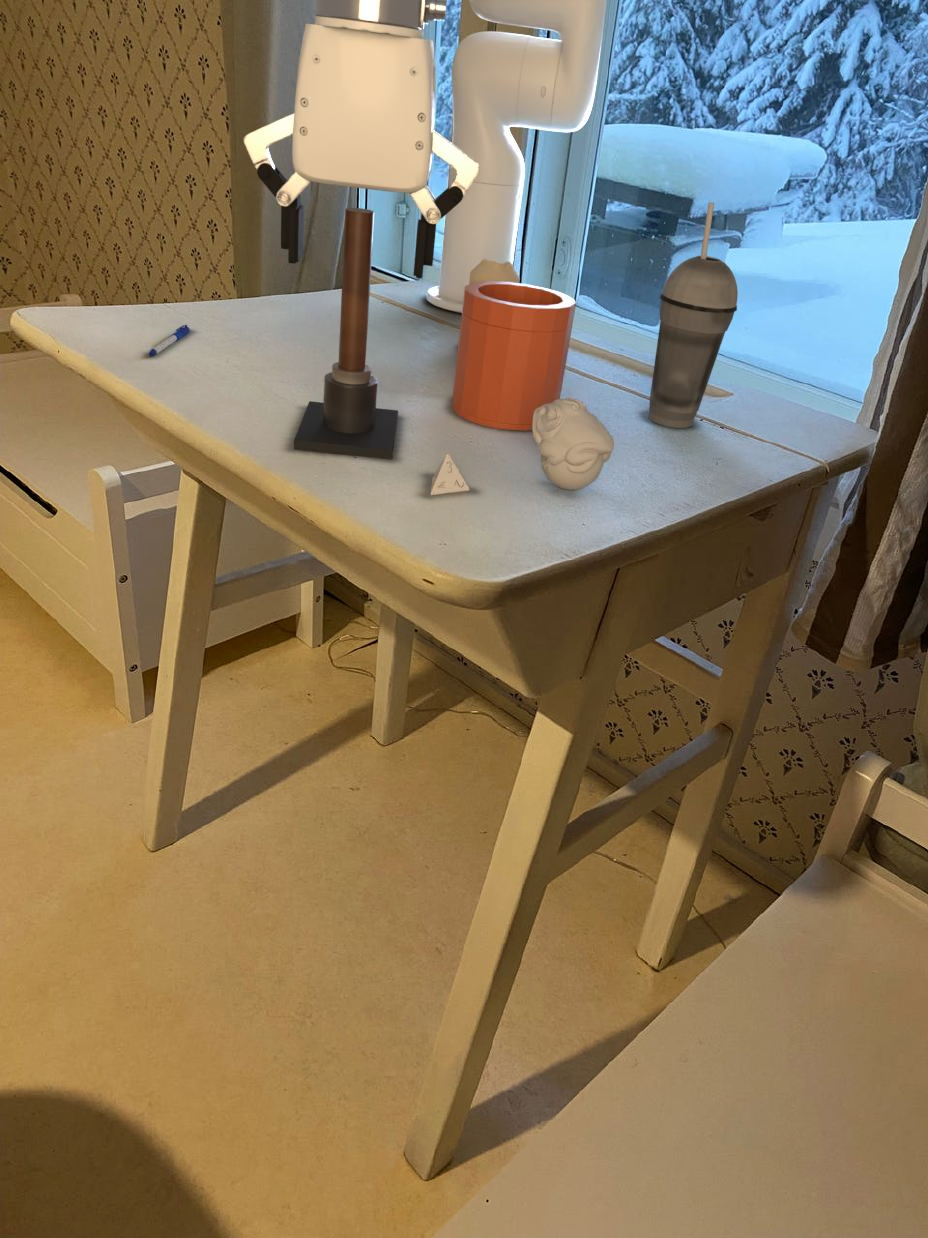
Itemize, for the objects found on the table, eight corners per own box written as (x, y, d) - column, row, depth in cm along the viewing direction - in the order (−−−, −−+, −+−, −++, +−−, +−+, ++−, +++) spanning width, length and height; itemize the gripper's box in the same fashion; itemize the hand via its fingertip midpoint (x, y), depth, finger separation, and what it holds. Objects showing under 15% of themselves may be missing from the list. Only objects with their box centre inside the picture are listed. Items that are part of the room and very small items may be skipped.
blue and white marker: (182, 331, 101) (182, 322, 100) (190, 332, 101) (190, 323, 100) (147, 357, 92) (147, 347, 91) (156, 358, 92) (156, 348, 91)
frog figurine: (546, 463, 79) (559, 383, 75) (619, 489, 76) (637, 406, 72) (507, 482, 74) (520, 397, 71) (583, 510, 71) (600, 423, 68)
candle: (510, 348, 110) (522, 259, 104) (507, 361, 105) (520, 268, 100) (464, 342, 110) (474, 252, 105) (459, 354, 105) (469, 261, 100)
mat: (309, 409, 84) (309, 400, 83) (397, 418, 84) (398, 410, 84) (293, 449, 75) (293, 440, 75) (392, 459, 76) (393, 450, 75)
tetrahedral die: (413, 498, 72) (409, 467, 70) (433, 477, 74) (429, 446, 71) (451, 511, 71) (448, 480, 68) (470, 490, 72) (468, 459, 70)
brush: (325, 413, 81) (333, 202, 72) (376, 418, 81) (390, 209, 73) (319, 430, 77) (327, 210, 69) (372, 436, 78) (387, 217, 69)
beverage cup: (669, 436, 89) (723, 210, 79) (619, 410, 94) (663, 195, 84) (721, 428, 93) (779, 213, 82) (670, 404, 98) (719, 198, 87)
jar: (451, 390, 93) (464, 276, 88) (550, 401, 94) (568, 288, 88) (452, 424, 85) (466, 300, 79) (560, 435, 85) (581, 313, 80)
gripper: (492, 26, 68) (465, 270, 77) (253, -7, 67) (254, 246, 75) (497, 23, 61) (467, 290, 70) (233, -13, 60) (236, 264, 69)
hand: (357, 267), depth 73 cm, fingers open, 9 cm apart
